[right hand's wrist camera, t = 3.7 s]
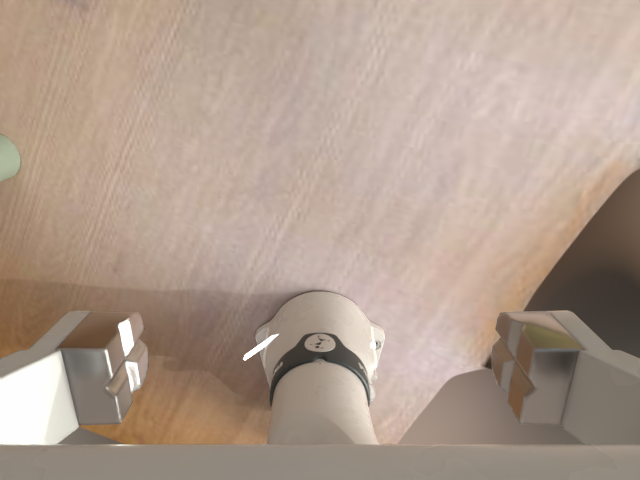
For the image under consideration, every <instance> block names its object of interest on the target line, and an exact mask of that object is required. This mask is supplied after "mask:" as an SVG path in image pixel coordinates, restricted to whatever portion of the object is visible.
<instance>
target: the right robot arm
mask: <svg viewBox="0 0 640 480" xmlns="http://www.w3.org/2000/svg"><path fill="white" fill-rule="evenodd" d="M143 331H144V324H143V319H142V316H141V315H140V314H139V312H120V311H70V312H67V313H66V314H65V315H64V316H63V317H62V318H61V319H60V320H59V321H58V322H57V323H56V324H55V325H54V326H53V327H51V328H50V329H49V330H48V331H47V332H46V333H45V334H44V335H43V336H42V337H41V338H40V339H39V340H38V341H37V342H36V343H35V344H34V345H33V346H32V347H31V348H29V349H28V350H20V351H17V352H15V353H13V354H10V355H8V356H5V357H3V358H1V359H0V480H640V359H639V358H637V357H635V356H632V355H630V354H627V353H625V352H623V351H620V350H612V349H610V348H609V347H608V346H607V345H606V344H605V343H604V342H603V341H602V340H601V339H600V338H599V337H598V336H597V335H596V334H595V333H594V332H593V331H592V330H591V329H590V328H589V327H588V326H587V325H585V324H584V323H583V322H582V321H581V320H580V319H579V318H578V317H577V316H576V315H575V314H574V313H573V312H570V311H567V310H566V311H531V312H503V313H500V314H499V316H498V319H497V323H496V331H497V332H498V334H499V335H500V337H501V338H500V339H499V340H498V341H497V342H496V343H495V344H494V345H493V348H492V356H491V363H492V372H493V375H494V378H495V381H496V382H497V384H498V386H499V388H501V389H502V390H504V391H505V392H507V393H508V399H507V402H508V404H509V406H510V408H511V409H512V411H513V413H514V415H515V416H516V418H517V420H518V422H519V423H520V424H538V425H561V427H562V428H563V429H564V430H566V431H567V432H568V433H570V434H571V435H572V436H574V437H575V438H576V439H577V440H579V441H580V442H582V443H583V444H379V443H378V441H377V439H376V437H375V433H374V430H373V426H372V422H371V418H370V413H369V404H370V402H373V401H374V397H375V386H373V385H372V382H376V380H377V372H376V367H377V364H378V361H379V357H380V354H381V350H382V347H383V343H384V340H385V333H384V331H383V329H382V328H380V327H379V326H378V325H376V324H374V323H372V322H371V321H369V320H368V319H367V318H366V316H365V315H364V313H363V312H362V311H361V309H360V308H359V307H358V306H357V305H356V304H355V303H353V302H352V301H351V300H349V299H347V298H346V297H344V296H341V295H339V294H335V293H331V292H323V291H317V292H309V293H305V294H301V295H299V296H297V297H294V298H293V299H291V300H289V301H288V302H287V303H285V304H284V305H283V306H282V307H281V308H280V309H279V311H278V312H277V313H276V315H275V316H274V318H273V319H272V320H271V321H269V322H268V323H266V324H264V325H263V326H261V327H260V328H258V329H257V331H256V333H255V340H256V343H257V347H255V348H254V349H253V350H251V351H250V352H248V353H247V354H245V355H244V360H247V359H248V358H249V357H251V356H252V355H254V354H255V353H256V352H258V351H259V354H260V357H261V360H262V364H263V367H264V371H265V374H266V378H267V381H268V385H269V388H270V404H271V407H272V408H271V415H270V422H269V430H268V437H267V444H57V443H59V442H60V441H61V440H63V439H64V438H65V437H67V436H68V435H69V434H71V433H72V432H73V431H75V430H76V429H77V428H78V427H79V425H101V424H121V422H122V420H123V418H124V416H125V415H126V413H127V411H128V409H129V408H130V406H131V404H132V402H133V399H132V393H133V392H135V391H136V390H138V389H139V388H141V386H142V384H143V382H144V381H145V379H146V375H147V370H148V366H149V355H148V348H147V345H146V344H145V343H144V342H143V341H142V340H141V339H140V338H139V337H140V335H141V334H142V332H143ZM375 342H377V343H376V344H375Z"/></svg>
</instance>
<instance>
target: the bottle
mask: <svg viewBox="0 0 640 480" xmlns="http://www.w3.org/2000/svg"><path fill="white" fill-rule="evenodd" d="M20 163H21V160H20V154H19V152H18V150H17V148H16V146H15V145H14V144H13V142H12V141H11V140H10V139H8V138H7V137H5V136H4V135H2V134H0V181H3V180H6V179H9V178H11V177H13V176H14V175H15V174H16V173H17V172H18V170H19V168H20Z"/></svg>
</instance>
